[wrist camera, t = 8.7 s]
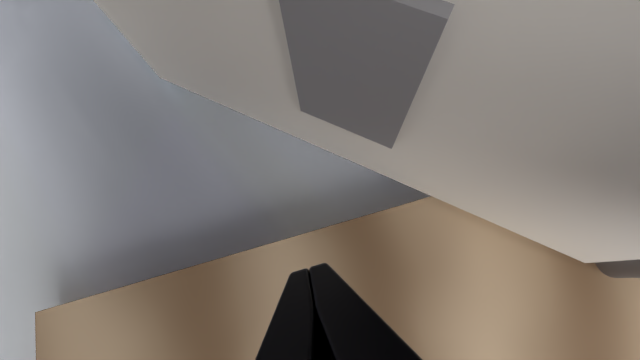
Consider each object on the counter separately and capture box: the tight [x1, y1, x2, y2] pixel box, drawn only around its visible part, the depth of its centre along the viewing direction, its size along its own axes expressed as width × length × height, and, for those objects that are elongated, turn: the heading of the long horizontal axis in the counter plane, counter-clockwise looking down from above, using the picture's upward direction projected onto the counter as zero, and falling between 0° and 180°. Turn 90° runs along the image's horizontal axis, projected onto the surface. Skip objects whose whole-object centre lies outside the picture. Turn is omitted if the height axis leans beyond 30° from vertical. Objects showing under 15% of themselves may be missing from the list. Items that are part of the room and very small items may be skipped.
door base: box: [35, 196, 640, 360], centre depth 8 cm, size 23×8×10 cm, turn 106°
